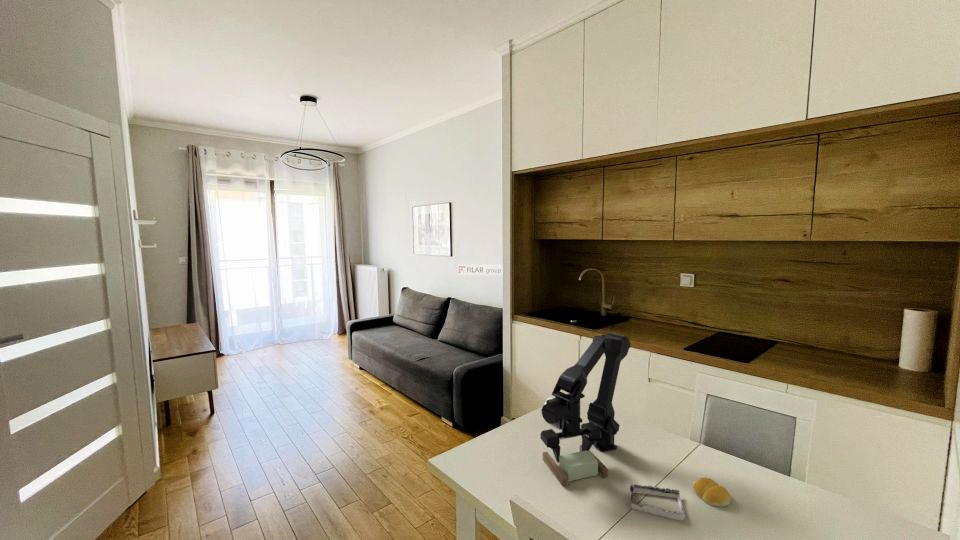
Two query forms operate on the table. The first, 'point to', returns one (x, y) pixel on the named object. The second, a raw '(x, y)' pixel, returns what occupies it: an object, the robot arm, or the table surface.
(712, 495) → the bread roll
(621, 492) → the table surface
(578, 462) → the block
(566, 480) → the chute rails
